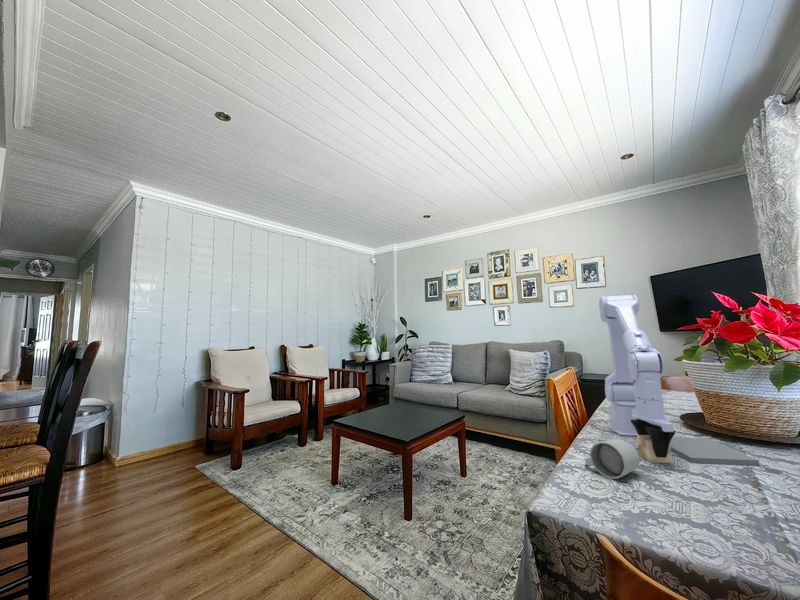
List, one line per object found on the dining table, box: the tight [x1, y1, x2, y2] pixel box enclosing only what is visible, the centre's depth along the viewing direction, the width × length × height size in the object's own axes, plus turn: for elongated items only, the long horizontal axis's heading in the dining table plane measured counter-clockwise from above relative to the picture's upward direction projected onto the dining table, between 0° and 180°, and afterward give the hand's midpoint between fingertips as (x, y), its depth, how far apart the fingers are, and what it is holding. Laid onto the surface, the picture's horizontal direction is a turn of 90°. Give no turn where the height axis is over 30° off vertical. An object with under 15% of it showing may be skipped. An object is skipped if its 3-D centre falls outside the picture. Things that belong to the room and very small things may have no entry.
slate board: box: [670, 436, 760, 466], centre depth 85 cm, size 16×14×1 cm
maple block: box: [636, 435, 673, 464], centre depth 82 cm, size 5×5×5 cm
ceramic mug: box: [584, 438, 640, 480], centre depth 76 cm, size 11×8×8 cm
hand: (654, 452), depth 82 cm, fingers closed on maple block, 5 cm apart
